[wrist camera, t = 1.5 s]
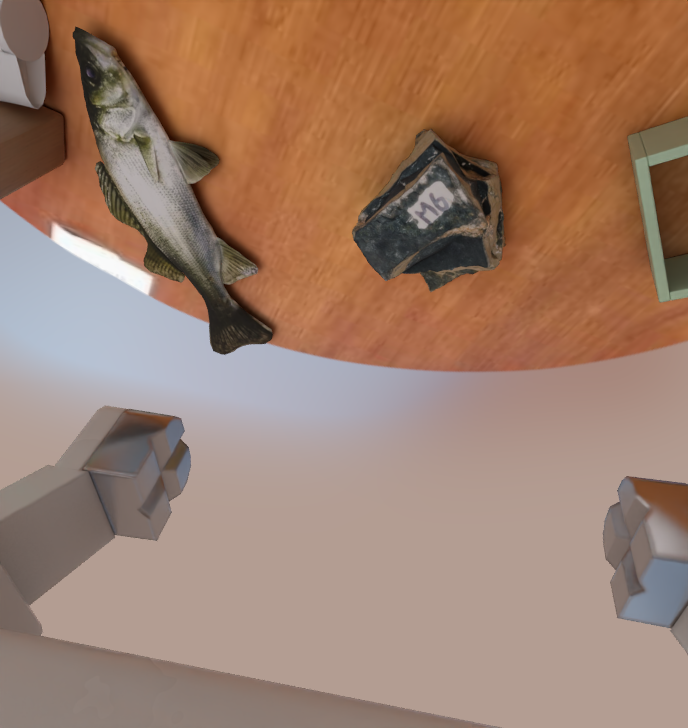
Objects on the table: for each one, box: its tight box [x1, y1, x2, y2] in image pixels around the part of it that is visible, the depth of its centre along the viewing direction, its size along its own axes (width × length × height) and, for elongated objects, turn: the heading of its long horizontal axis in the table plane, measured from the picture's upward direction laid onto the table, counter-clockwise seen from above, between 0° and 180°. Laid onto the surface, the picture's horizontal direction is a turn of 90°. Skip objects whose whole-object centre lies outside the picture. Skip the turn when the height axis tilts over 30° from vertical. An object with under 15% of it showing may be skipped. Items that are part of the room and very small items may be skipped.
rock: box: [352, 129, 506, 292], centre depth 36 cm, size 9×9×6 cm
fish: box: [73, 27, 273, 355], centre depth 43 cm, size 26×3×10 cm
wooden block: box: [0, 101, 65, 199], centre depth 40 cm, size 4×4×8 cm
